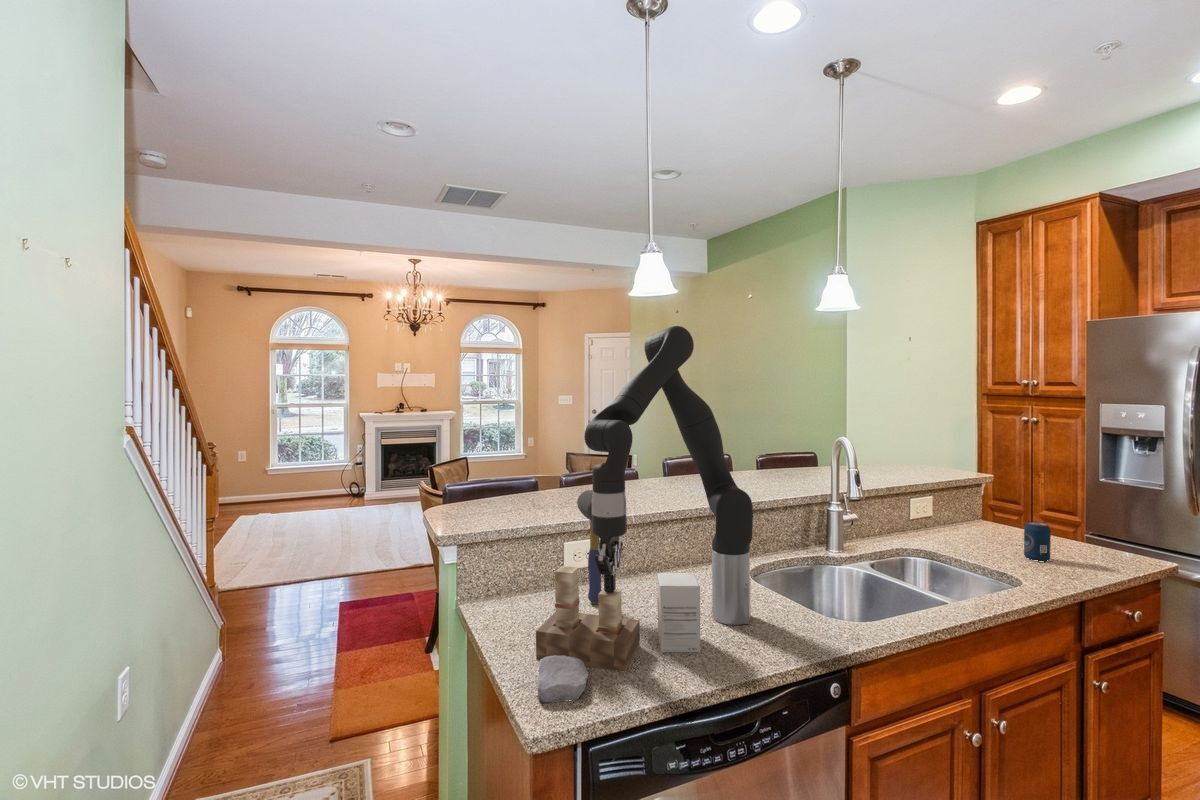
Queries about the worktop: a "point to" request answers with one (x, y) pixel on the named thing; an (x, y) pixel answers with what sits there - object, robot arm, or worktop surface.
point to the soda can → (1037, 541)
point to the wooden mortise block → (590, 642)
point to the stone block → (561, 678)
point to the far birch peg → (567, 597)
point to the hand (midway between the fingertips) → (609, 590)
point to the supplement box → (678, 612)
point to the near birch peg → (610, 612)
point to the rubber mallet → (591, 547)
